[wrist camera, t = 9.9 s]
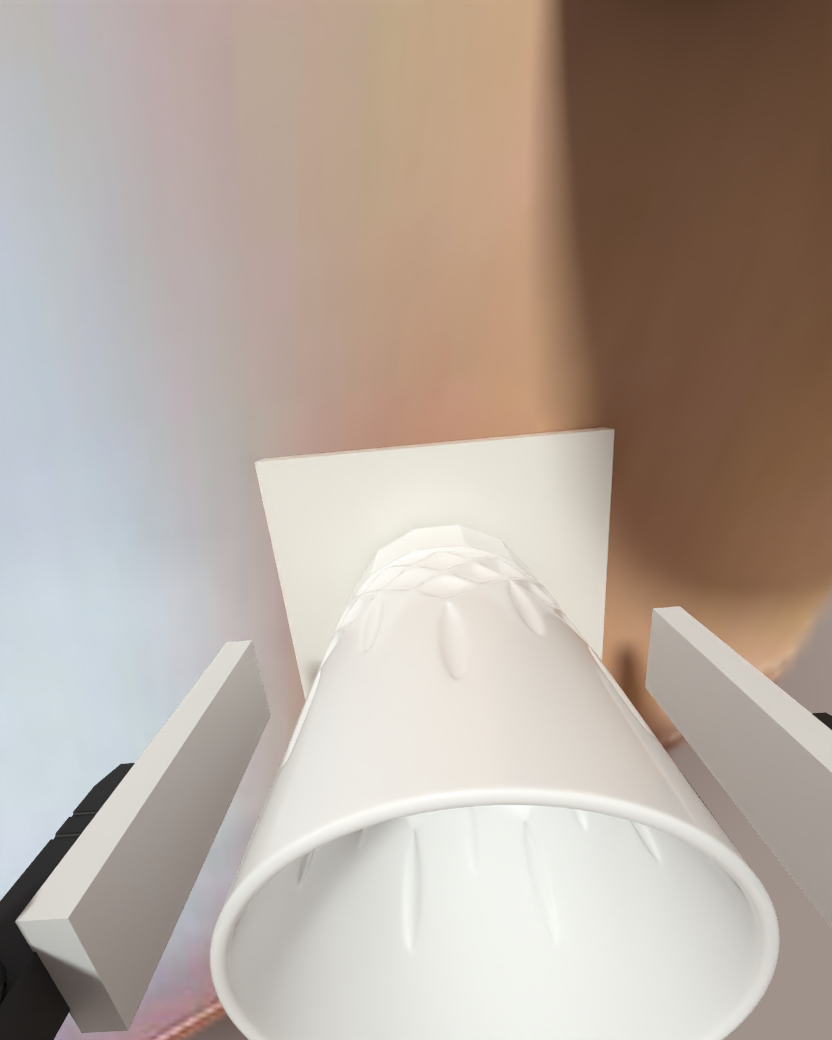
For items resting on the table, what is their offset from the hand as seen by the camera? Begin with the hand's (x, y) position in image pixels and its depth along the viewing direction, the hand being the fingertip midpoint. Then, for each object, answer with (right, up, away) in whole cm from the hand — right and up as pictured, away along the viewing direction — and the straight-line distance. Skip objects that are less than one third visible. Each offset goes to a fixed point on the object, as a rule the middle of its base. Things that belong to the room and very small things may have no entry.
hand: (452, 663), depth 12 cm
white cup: (0, +1, +3) cm, 3 cm away
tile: (0, +1, +4) cm, 4 cm away
